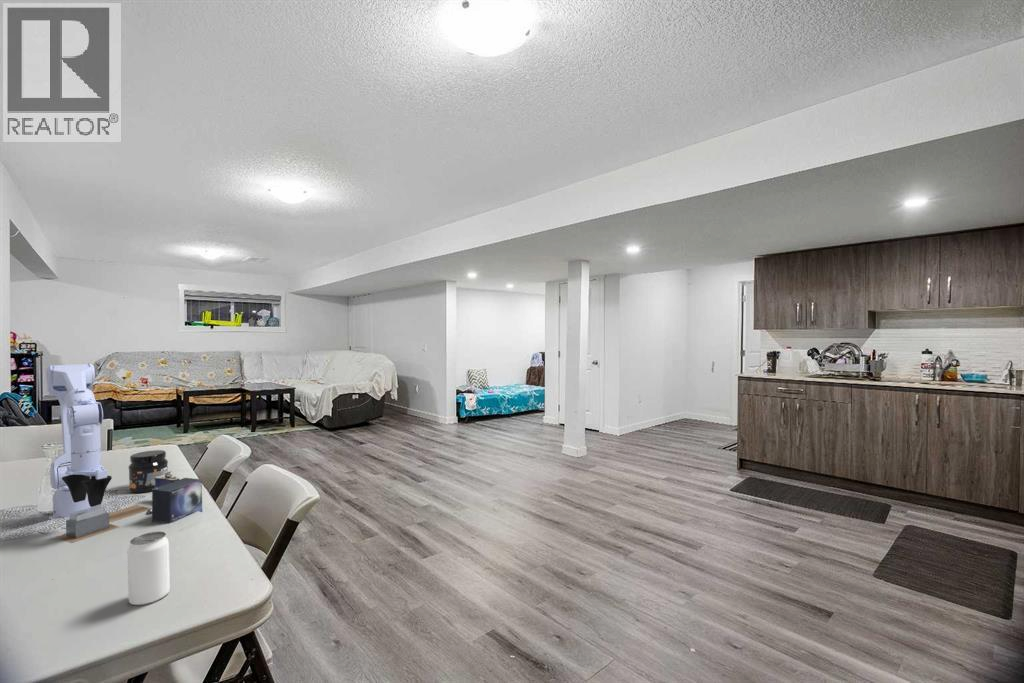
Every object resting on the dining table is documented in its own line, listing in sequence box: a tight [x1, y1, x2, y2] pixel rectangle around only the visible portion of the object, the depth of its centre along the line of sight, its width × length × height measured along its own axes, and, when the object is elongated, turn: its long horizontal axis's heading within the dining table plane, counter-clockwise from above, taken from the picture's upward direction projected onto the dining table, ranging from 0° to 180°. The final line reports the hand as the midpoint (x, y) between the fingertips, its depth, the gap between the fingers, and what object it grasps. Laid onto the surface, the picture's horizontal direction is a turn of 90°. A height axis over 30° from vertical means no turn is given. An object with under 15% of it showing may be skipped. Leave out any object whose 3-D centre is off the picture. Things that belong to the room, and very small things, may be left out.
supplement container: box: [128, 449, 169, 494], centre depth 157 cm, size 10×10×12 cm
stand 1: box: [54, 523, 120, 544], centre depth 119 cm, size 8×10×2 cm
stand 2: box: [108, 504, 152, 523], centre depth 132 cm, size 8×10×2 cm
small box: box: [151, 477, 203, 524], centre depth 130 cm, size 11×6×10 cm, turn 168°
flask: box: [154, 470, 180, 488], centre depth 141 cm, size 9×3×11 cm, turn 71°
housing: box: [65, 505, 110, 539], centre depth 119 cm, size 4×7×6 cm, turn 156°
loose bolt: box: [145, 508, 152, 516], centre depth 131 cm, size 6×3×3 cm, turn 86°
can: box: [127, 531, 171, 606], centre depth 92 cm, size 6×6×12 cm
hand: (87, 503), depth 119 cm, fingers open, 7 cm apart
